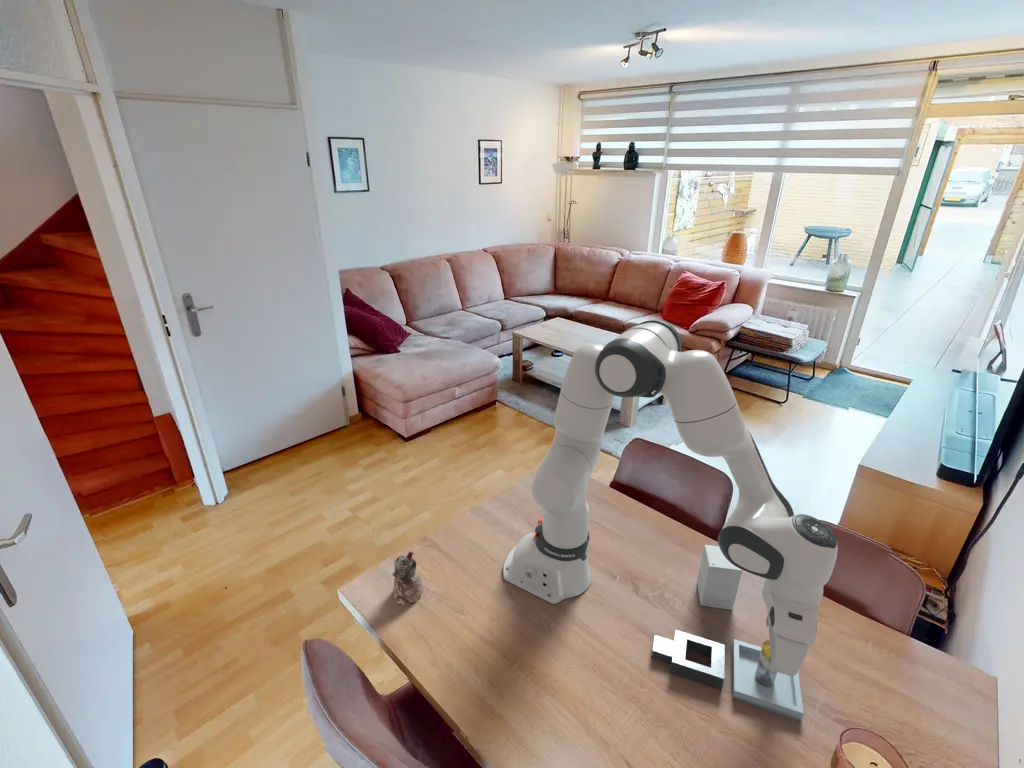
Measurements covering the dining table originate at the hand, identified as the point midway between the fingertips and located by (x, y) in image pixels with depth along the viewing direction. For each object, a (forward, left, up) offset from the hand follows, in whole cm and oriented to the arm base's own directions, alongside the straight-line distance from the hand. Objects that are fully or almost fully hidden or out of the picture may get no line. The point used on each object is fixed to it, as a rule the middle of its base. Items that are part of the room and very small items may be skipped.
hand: (772, 645), depth 96 cm
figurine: (-79, -7, -11) cm, 80 cm away
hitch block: (-14, -1, -11) cm, 18 cm away
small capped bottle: (+1, 0, -10) cm, 10 cm away
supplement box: (-9, +19, -11) cm, 24 cm away
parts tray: (+1, 0, -11) cm, 11 cm away
